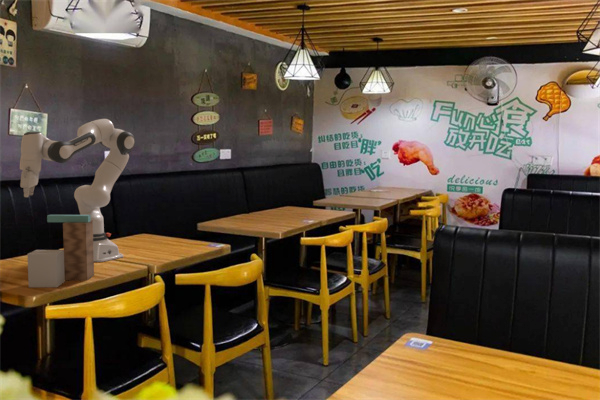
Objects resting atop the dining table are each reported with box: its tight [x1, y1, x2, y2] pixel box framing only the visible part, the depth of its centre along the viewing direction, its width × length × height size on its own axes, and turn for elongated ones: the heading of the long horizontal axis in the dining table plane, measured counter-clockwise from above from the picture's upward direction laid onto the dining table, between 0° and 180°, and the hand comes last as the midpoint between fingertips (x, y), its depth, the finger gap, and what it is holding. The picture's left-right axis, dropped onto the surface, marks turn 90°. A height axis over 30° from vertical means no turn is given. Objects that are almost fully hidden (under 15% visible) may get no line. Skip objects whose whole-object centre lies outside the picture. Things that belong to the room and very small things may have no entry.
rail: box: [46, 214, 91, 223], centre depth 254 cm, size 18×4×3 cm, turn 94°
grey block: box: [26, 249, 66, 288], centre depth 243 cm, size 12×9×14 cm
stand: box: [62, 220, 95, 282], centre depth 255 cm, size 10×10×26 cm
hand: (28, 196), depth 259 cm, fingers open, 8 cm apart
